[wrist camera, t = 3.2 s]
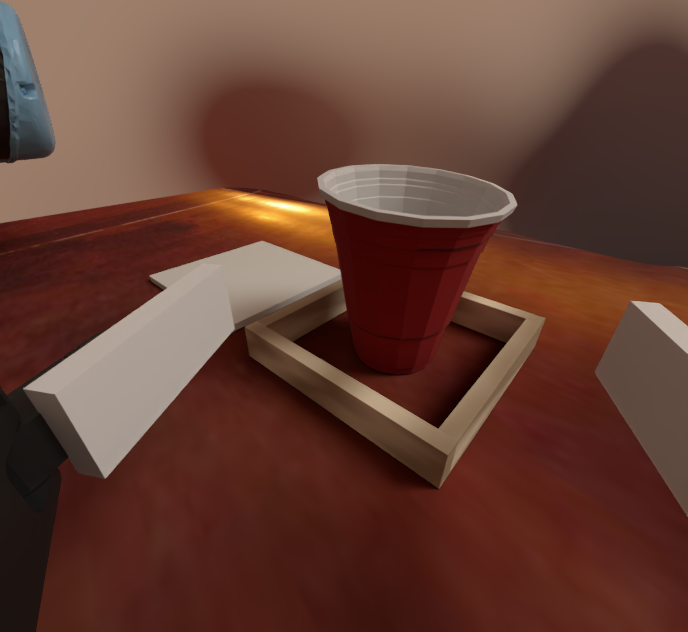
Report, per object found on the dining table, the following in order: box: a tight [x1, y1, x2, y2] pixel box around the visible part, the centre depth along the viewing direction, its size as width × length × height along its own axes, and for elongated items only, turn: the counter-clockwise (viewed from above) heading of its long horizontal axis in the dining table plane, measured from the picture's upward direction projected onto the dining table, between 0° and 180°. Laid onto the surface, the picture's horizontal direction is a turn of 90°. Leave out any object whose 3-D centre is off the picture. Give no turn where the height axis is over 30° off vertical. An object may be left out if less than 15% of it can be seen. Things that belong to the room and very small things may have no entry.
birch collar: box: [245, 280, 545, 489], centre depth 24 cm, size 15×15×2 cm
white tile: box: [149, 241, 342, 332], centre depth 35 cm, size 14×14×1 cm
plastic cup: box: [317, 164, 517, 375], centre depth 22 cm, size 11×11×12 cm
